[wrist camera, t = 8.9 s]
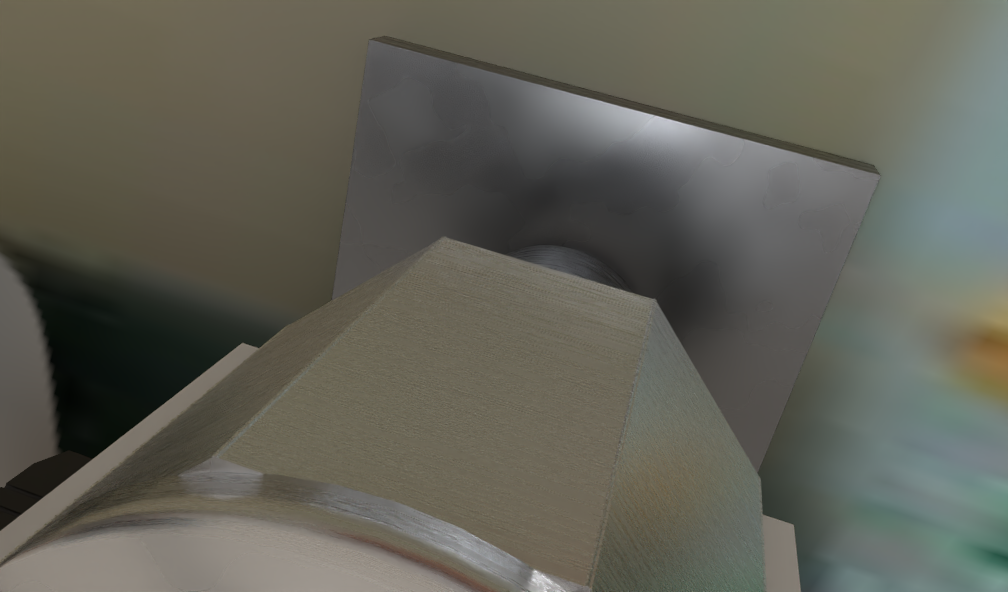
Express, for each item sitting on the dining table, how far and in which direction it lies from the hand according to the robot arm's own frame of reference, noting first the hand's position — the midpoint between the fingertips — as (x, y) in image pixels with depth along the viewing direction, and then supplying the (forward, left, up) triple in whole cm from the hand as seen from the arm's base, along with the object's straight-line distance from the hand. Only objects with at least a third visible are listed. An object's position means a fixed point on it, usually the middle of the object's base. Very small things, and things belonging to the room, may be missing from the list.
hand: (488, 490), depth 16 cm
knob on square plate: (0, 0, -8) cm, 8 cm away
